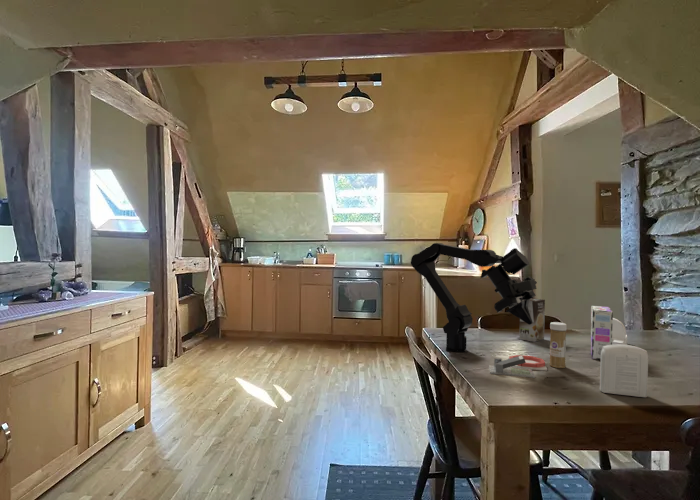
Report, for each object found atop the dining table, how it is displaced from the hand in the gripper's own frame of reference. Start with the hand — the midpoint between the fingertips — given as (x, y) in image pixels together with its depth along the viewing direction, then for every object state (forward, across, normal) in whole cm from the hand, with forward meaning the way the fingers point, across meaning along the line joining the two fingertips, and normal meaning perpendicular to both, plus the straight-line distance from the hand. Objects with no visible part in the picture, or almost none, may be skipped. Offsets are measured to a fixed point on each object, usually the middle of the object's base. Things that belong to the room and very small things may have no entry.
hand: (531, 323), depth 128 cm
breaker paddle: (+6, -16, +9) cm, 19 cm away
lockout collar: (+10, -2, +8) cm, 13 cm away
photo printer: (+26, -10, -14) cm, 31 cm away
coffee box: (+4, +36, +20) cm, 41 cm away
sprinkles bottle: (+15, +3, +2) cm, 15 cm away
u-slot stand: (+19, +47, +1) cm, 51 cm away
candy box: (+19, +28, -2) cm, 34 cm away
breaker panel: (+9, -14, +7) cm, 18 cm away
